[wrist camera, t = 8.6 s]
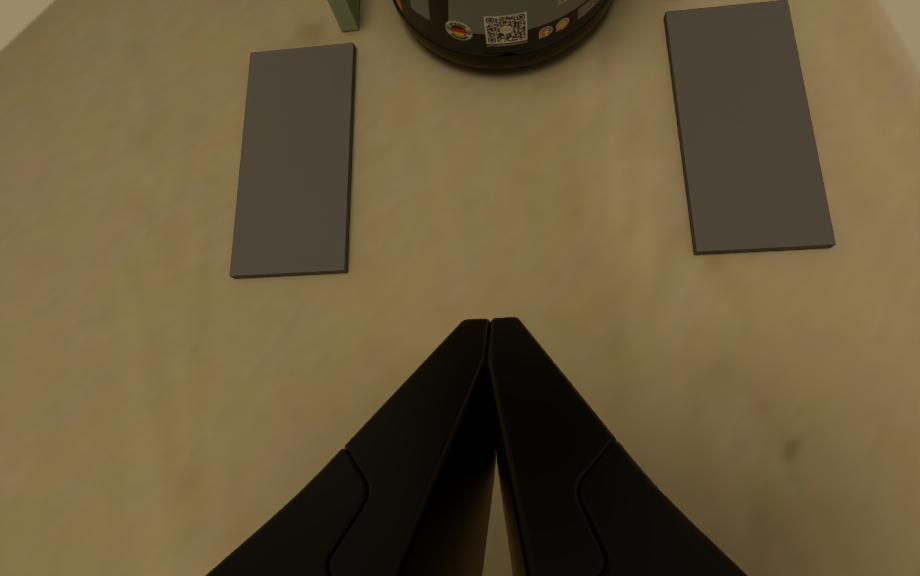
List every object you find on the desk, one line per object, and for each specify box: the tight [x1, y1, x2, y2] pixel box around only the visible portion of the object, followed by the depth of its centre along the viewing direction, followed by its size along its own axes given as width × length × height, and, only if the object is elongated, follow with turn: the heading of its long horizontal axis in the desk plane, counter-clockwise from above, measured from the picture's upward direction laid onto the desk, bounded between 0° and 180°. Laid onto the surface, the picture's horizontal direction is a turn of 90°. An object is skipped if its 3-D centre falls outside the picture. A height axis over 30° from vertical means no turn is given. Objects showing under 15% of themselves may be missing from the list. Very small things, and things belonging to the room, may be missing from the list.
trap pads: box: [230, 0, 836, 279], centre depth 25 cm, size 11×24×1 cm, turn 91°
